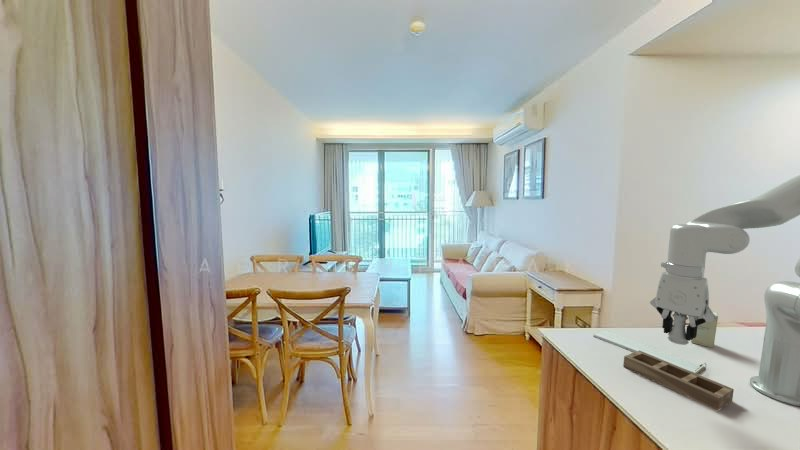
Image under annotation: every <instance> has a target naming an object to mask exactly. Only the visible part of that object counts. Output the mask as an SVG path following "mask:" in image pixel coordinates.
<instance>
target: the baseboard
mask: <svg viewBox="0 0 800 450" xmlns="http://www.w3.org/2000/svg"><path fill="white" fill-rule="evenodd" d="M593 337H594V338H597V340H598V339H599V340H602V341H604V342H606V343H609V344H611V345H614V346H617V347H619V348H622V349H625V350H627V351H630V352H632V353H634V352H637V351H639V350H640V351H642V352H645V353H647V354H650V355H652V356H654V357H657V358H659V359H662V360H664V361H667V362H669V363H671V364H674V365H676V366H679V367H681V368H684V369H686V370H688V371H691V372H693V373H696V374H699V373H700V372H701V371H703V370H704V369H705V368H706V367H707V364H706V363H703V364H699V363H697V362H693V361H691V360H688V359H684V358H682V357H680V356H678V355H674V354H671V353H669V352H666V351H663V350H660V349H656V347H655V348H654V347H651V346H649V345H646V344H643V343H640V342H637V341H635V340H633V339H629V338H626V337H623V336H621V335H619V334H615V333H612V332H610V331H607V330H601V331H599V332H598V331H597V332H595V333H593ZM704 364H705V365H704Z"/></svg>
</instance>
